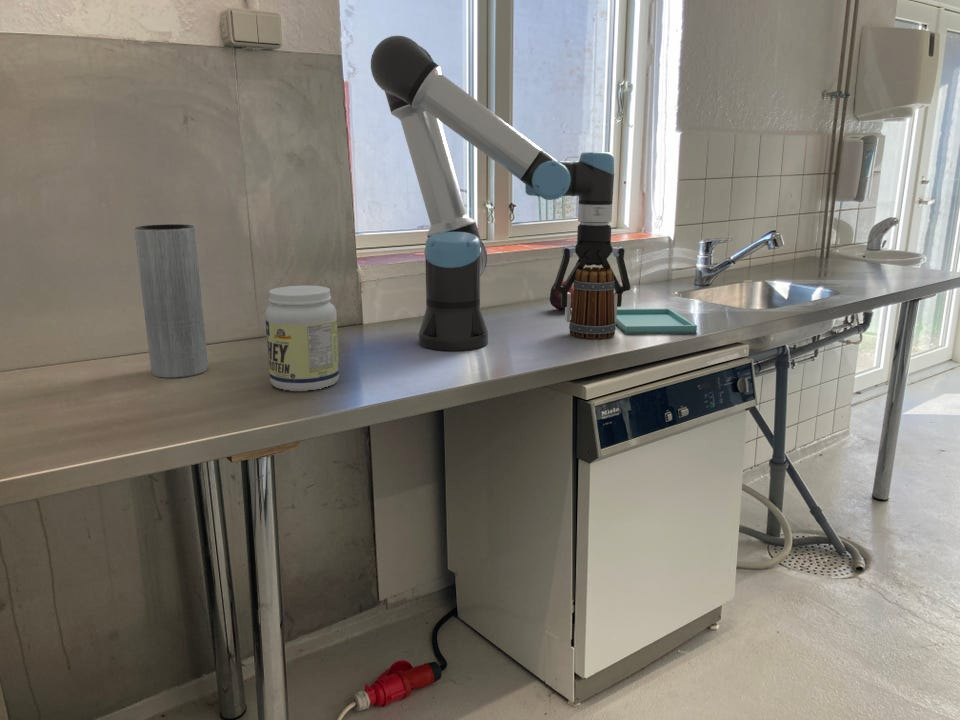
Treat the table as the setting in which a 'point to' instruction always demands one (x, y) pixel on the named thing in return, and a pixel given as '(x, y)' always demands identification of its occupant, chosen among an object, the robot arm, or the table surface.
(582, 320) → the mug
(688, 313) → the table surface
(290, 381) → the supplement tub
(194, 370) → the vase
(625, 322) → the tray
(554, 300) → the fruit
